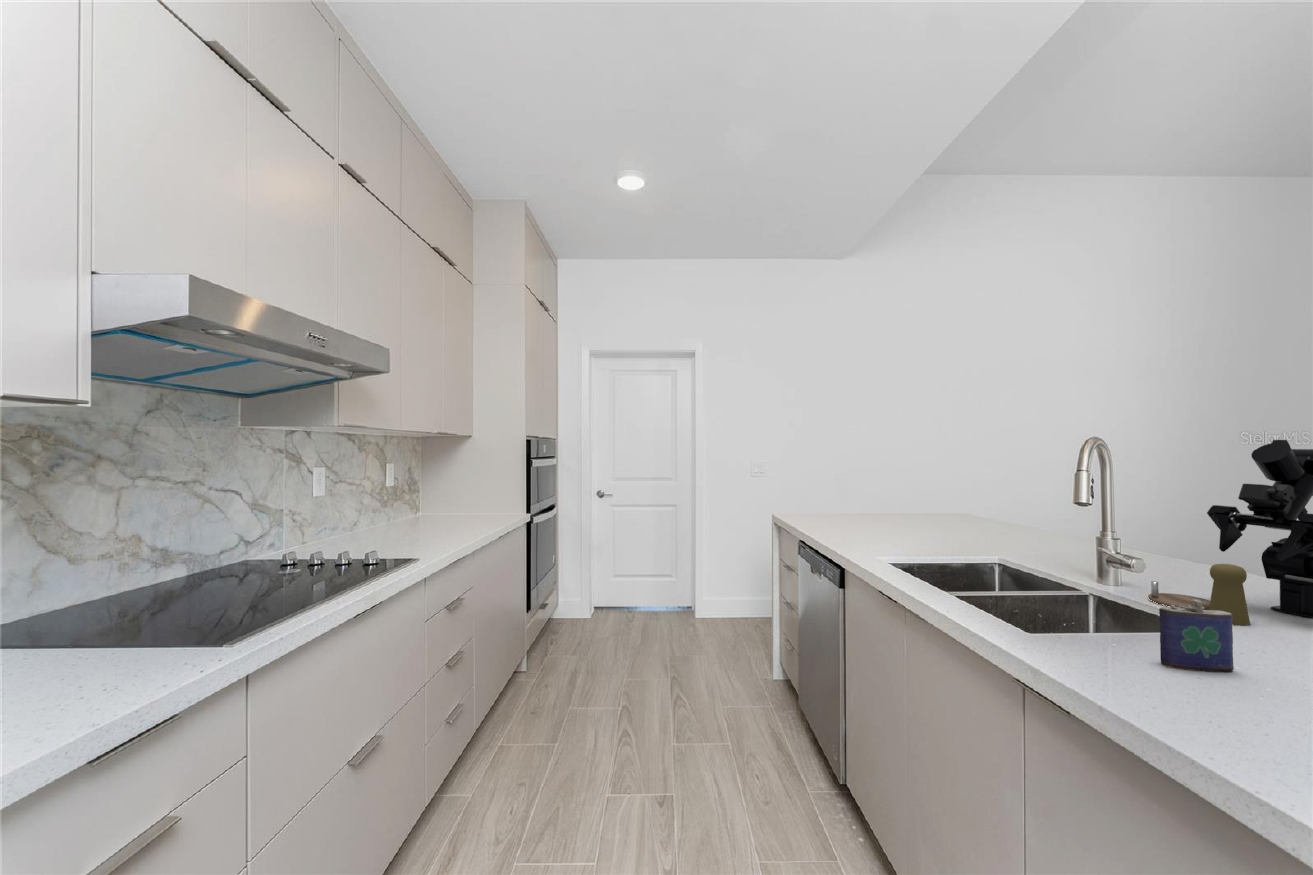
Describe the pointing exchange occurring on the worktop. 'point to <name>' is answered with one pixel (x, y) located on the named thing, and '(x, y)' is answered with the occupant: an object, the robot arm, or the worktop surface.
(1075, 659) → the worktop surface
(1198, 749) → the worktop surface
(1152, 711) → the worktop surface
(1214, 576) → the cork
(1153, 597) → the walnut plate
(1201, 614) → the flask
